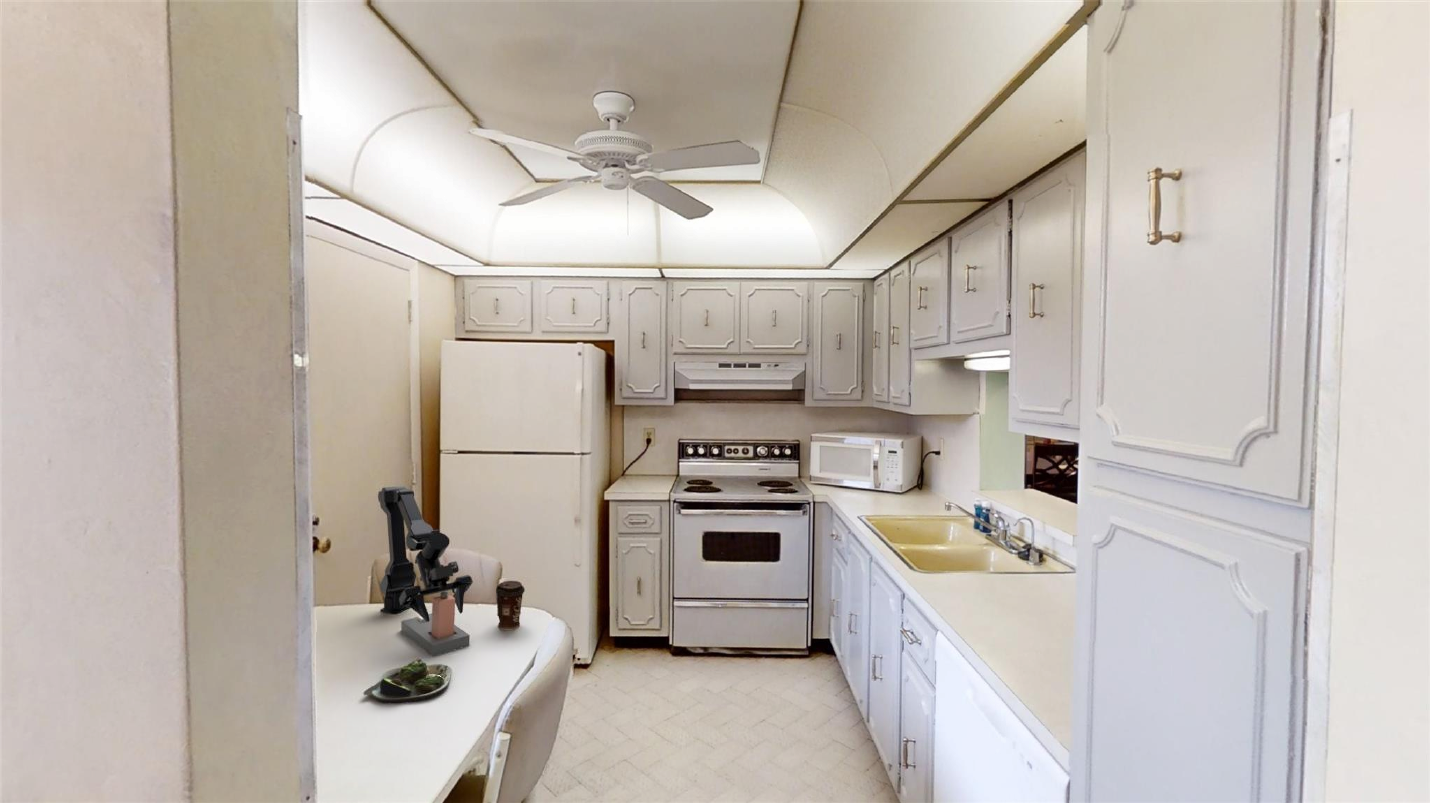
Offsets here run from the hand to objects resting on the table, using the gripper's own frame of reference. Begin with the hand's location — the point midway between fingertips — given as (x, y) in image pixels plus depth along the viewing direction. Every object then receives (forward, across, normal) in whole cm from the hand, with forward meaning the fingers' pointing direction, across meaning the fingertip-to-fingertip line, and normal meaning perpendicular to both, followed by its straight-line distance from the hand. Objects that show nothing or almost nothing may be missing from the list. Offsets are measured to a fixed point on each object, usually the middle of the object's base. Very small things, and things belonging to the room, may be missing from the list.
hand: (445, 616), depth 165 cm
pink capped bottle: (+5, 0, +7) cm, 8 cm away
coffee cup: (+6, +20, +6) cm, 21 cm away
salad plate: (+18, -15, -6) cm, 24 cm away
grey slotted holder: (+1, 0, +10) cm, 10 cm away
